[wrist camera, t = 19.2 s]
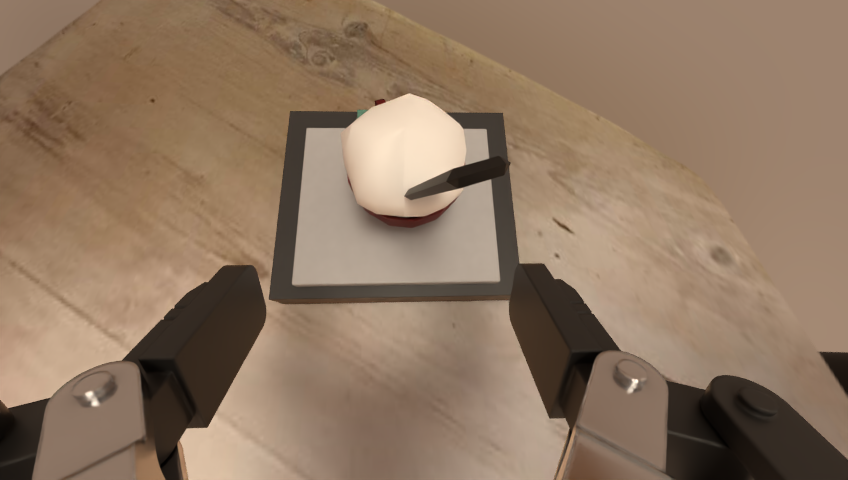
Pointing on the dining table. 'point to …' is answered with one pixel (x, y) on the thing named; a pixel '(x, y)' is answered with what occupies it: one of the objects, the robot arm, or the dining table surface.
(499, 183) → the scale
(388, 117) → the cocoa
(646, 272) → the dining table surface
